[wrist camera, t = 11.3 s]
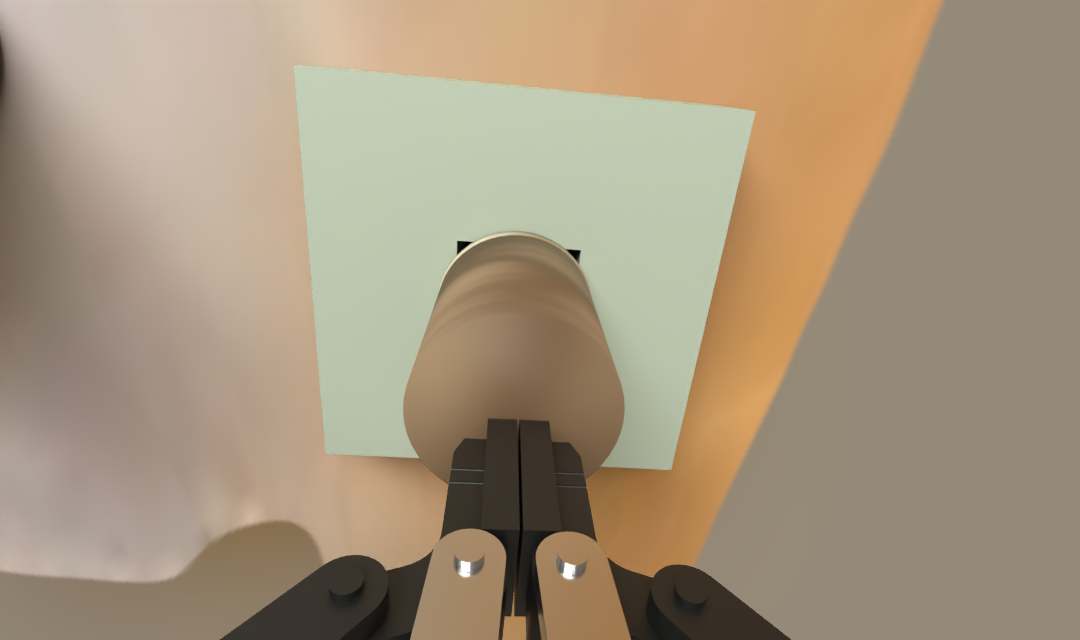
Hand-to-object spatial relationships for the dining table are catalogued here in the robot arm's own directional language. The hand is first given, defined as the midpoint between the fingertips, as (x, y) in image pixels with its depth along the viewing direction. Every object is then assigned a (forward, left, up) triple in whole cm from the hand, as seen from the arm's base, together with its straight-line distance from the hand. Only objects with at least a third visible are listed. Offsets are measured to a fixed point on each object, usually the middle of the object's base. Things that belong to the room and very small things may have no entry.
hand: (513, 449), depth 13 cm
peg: (0, 0, -13) cm, 13 cm away
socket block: (0, 0, -14) cm, 14 cm away
